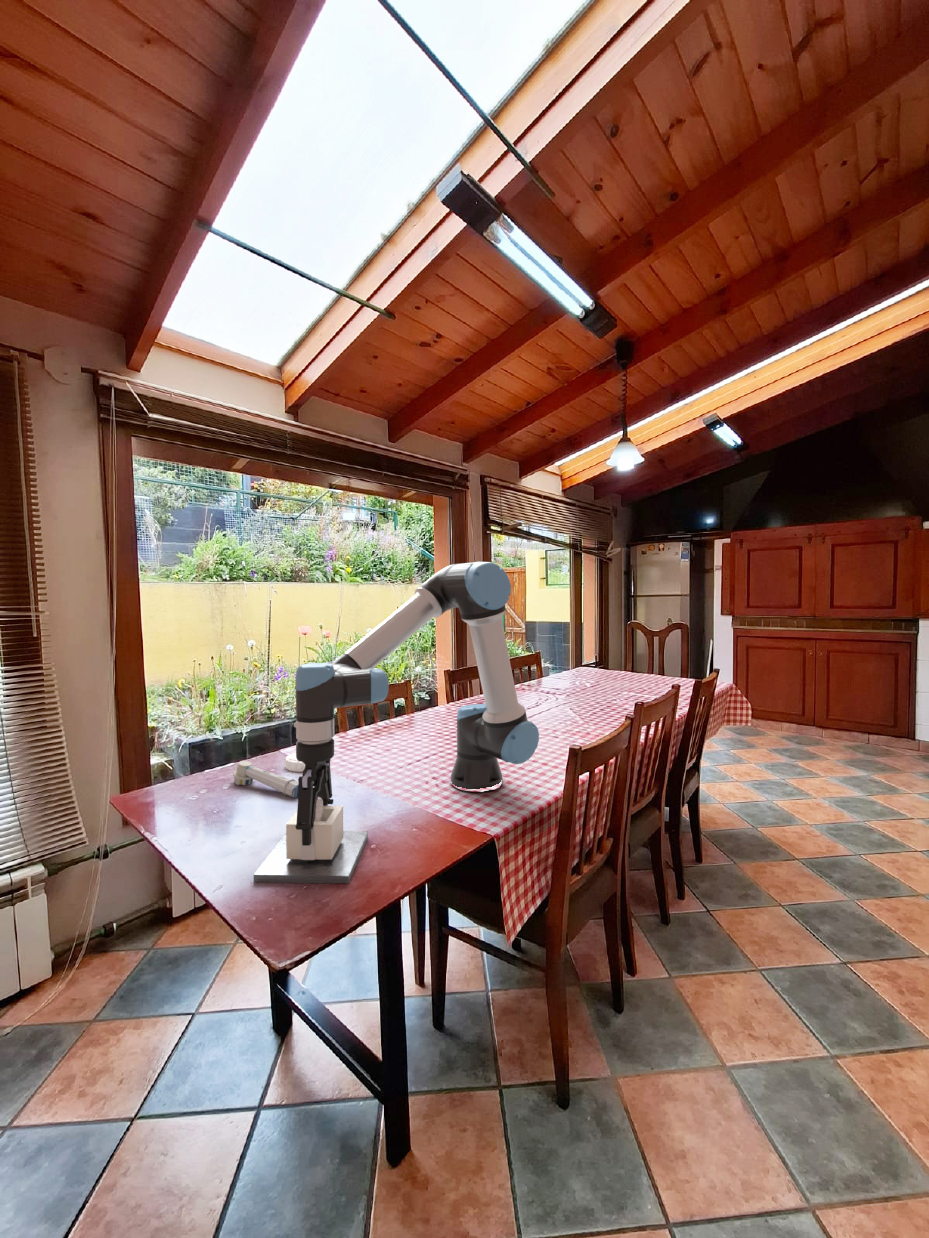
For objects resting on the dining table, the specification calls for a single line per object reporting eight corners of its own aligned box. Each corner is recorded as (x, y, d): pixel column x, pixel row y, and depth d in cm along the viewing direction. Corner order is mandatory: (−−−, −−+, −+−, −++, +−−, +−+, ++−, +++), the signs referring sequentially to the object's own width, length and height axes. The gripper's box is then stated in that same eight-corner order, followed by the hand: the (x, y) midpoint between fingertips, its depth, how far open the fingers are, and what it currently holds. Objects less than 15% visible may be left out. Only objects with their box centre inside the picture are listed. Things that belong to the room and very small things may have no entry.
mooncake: (332, 764, 162) (332, 753, 162) (301, 775, 152) (301, 763, 152) (308, 757, 169) (307, 747, 168) (277, 767, 159) (277, 756, 158)
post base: (367, 837, 112) (367, 780, 112) (348, 883, 94) (348, 815, 94) (288, 836, 112) (287, 780, 112) (253, 882, 94) (253, 814, 94)
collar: (343, 837, 108) (343, 805, 107) (331, 859, 99) (331, 824, 98) (301, 837, 108) (301, 805, 107) (286, 858, 99) (286, 824, 98)
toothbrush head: (292, 787, 132) (230, 759, 144) (289, 810, 133) (228, 781, 144) (306, 780, 137) (245, 754, 148) (304, 803, 137) (244, 775, 149)
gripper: (313, 725, 113) (314, 822, 114) (276, 755, 91) (277, 875, 92) (346, 725, 113) (346, 823, 114) (317, 756, 91) (318, 876, 92)
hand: (315, 846), depth 103 cm, fingers closed on collar, 9 cm apart
